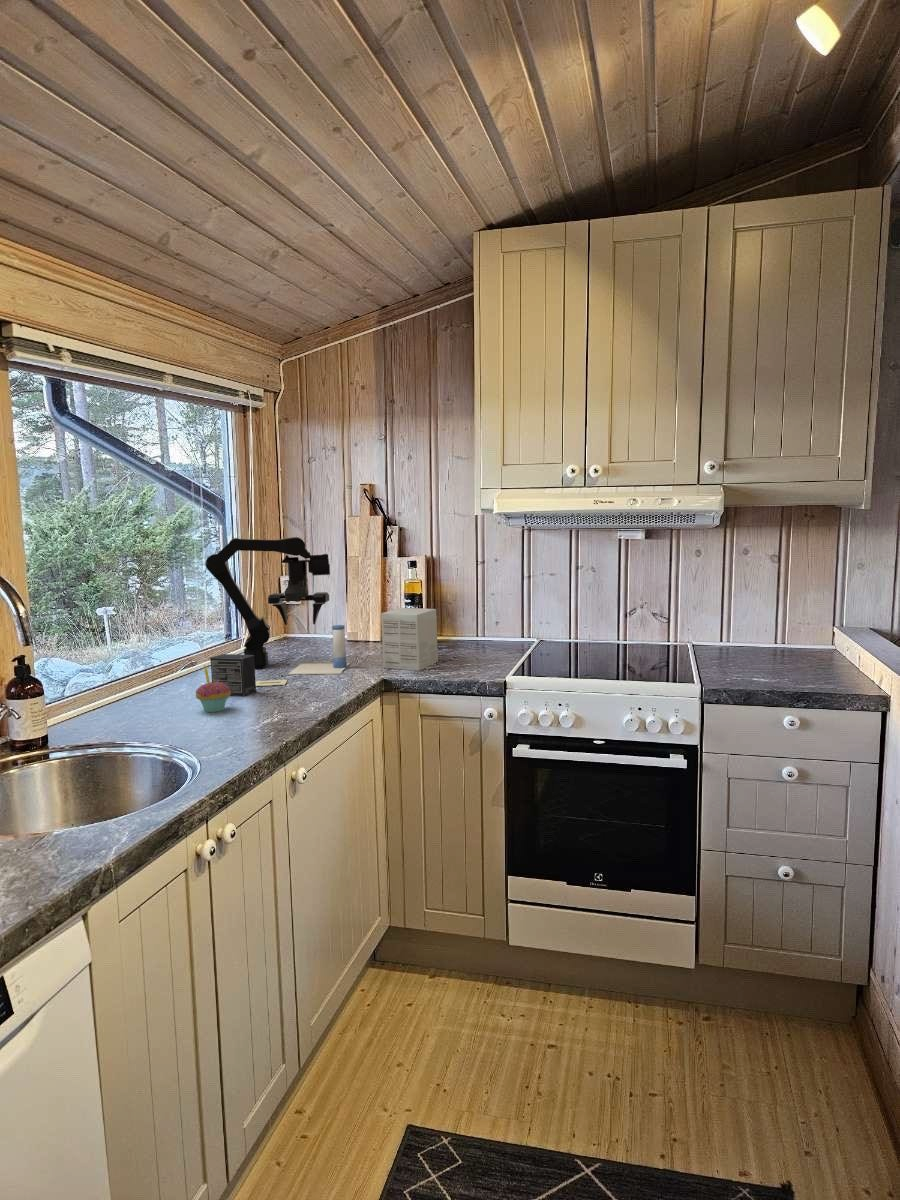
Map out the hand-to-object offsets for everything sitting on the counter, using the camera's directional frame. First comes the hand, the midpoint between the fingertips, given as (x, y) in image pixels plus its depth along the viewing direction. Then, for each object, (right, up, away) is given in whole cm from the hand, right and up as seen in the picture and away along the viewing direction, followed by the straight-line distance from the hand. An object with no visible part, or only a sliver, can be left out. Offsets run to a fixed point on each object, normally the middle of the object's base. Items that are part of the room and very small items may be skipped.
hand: (300, 624), depth 252 cm
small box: (-11, -18, -35) cm, 41 cm away
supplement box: (+36, -13, -5) cm, 39 cm away
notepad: (+8, -14, -7) cm, 17 cm away
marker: (+14, -13, -6) cm, 20 cm away
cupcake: (-12, -20, -53) cm, 58 cm away
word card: (-4, -16, -26) cm, 31 cm away
